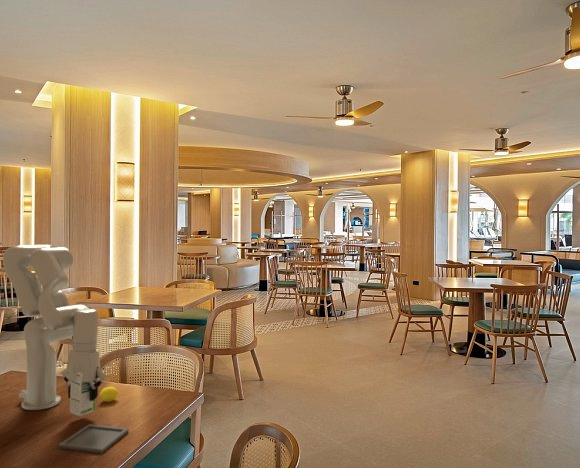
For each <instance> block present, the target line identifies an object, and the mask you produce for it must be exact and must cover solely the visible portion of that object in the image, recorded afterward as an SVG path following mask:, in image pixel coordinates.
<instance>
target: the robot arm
mask: <svg viewBox="0 0 580 468" xmlns="http://www.w3.org/2000/svg"><path fill="white" fill-rule="evenodd" d="M73 264H74V257H73V253H72V252H71V251H70V249H68V247H64V246H58V245H55V244H54V245H53V244H19V245H12V246H10V247H8V248H7V249H6V250H5V251H4V253H3V254H2V265H3V266H2V267H3V269H4V273H5V274H6V276H7V278H8V280H9V281H10V283H11V284H12V286H13V288H14V292H15V295H16V299H17V301H18V303H19V304H18V305H19V307H20V310H21V312H22V315H24V316H25V317H28V318H34V317H35V318H34V319H30V320H29V321H28V322H26V324H25V326H24V328H23V336H24V340H25V345H26V389H22V390H20V393H18V398H21V399H22V398H23V401H22V402H21V408H22V409H23V410H28V411H40V410H45V409H50V408H53V407H54V406H56V405H58V404H60V403H61V401H62V400H61V398H62V397H61V396H60V395H57V361H58V360H57V352H56V350H55V349H54V348H53V347H52V345H51V343H55V342H58V341H63V340H67V339H70V338H72V340H70V343H69V345H70V346H72V347H71V349H70V350H69V353H68V357H67V361H66V367H65V369H63V370H62V371H61V372H60V374H61V376H62V377H63V379H64V381H65V383H66V386H68V387H67V388H68V390H67V391H68V392H67V395H68V397H67V398H68V399H69V398H70V389H71V380H73V381H77V373H78V372H81V373H83V382H89V383H90V385H91V387H92V389H90V401H93V400H94V399H95V400H96V399H97V398H98V397H99V393H98V392H99V391H98V390H99V387H100V386H101V385H102V384H103V383H104V381H106V379H107V376H106V374H104V372H102V371H101V359H100V352H99V349H98V329H99V328H98V327H99V313H98V310H97V309H94V308H89V307H88V306H86V305H84V304H73V305H70V302H69V300H68V298H67V295H66V294H65V292H63V289H65V288H66V287H67V285H68V283H69V278H68V276H67V274H66V272H65V271H64V270H68V269H70V268H71V267H72V266H73ZM28 268H32V269H33V271H34V273H35V274H34V273H33V272H32V271H31V270H29V269H28ZM94 383H95V384H94Z"/></svg>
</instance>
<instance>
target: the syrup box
mask: <svg viewBox="0 0 580 468" xmlns="http://www.w3.org/2000/svg"><path fill="white" fill-rule="evenodd" d="M94 384H95V383H94ZM90 389H92V387H91V385H90V383H89V382H83V373H81V372H78V373H77V381H73V380H71V389H70V399H69V412H70V413H71V414H73V415H75V416H77V417H79V418H80V417H82V416H85V415H87V414H90V413H93V412H95V411H96V399H94V400H93V401H90Z"/></svg>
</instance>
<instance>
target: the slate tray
mask: <svg viewBox="0 0 580 468" xmlns="http://www.w3.org/2000/svg"><path fill="white" fill-rule="evenodd" d="M128 433H129V428H126V427H120V426H119V427H117V426H110V425H109V426H107V425H100V424H98V425H97V424H90V423H89V424H87V425H86V426H84V427H82V428H81V429H79V430H78V431H76V432H75V433H74V434H72V435H70V436H69V437H67V438H66V439H65V440H63V441H61V442H60V443H59V444H58V449H62V450H69V451H78V452H85V453H86V452H87V453H93V454H104V452H106V451H107V450H108V449H109V448H111V447H112V446H114V445H115V444H116V443H117V442H119V440H121V439H123V438H124V437H125V436H126V435H127V434H128Z"/></svg>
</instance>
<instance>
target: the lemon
mask: <svg viewBox="0 0 580 468" xmlns="http://www.w3.org/2000/svg"><path fill="white" fill-rule="evenodd" d="M118 396H119V392H118V390H117V388H115V387H114V386H107V387H104V388H102V390H101V391H100V393H98V397H100V399H101V400H102V401H103V402H107V403H108V402H110V403H111V402H112V401H113V402H114V400H116V398H117V397H118Z"/></svg>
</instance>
